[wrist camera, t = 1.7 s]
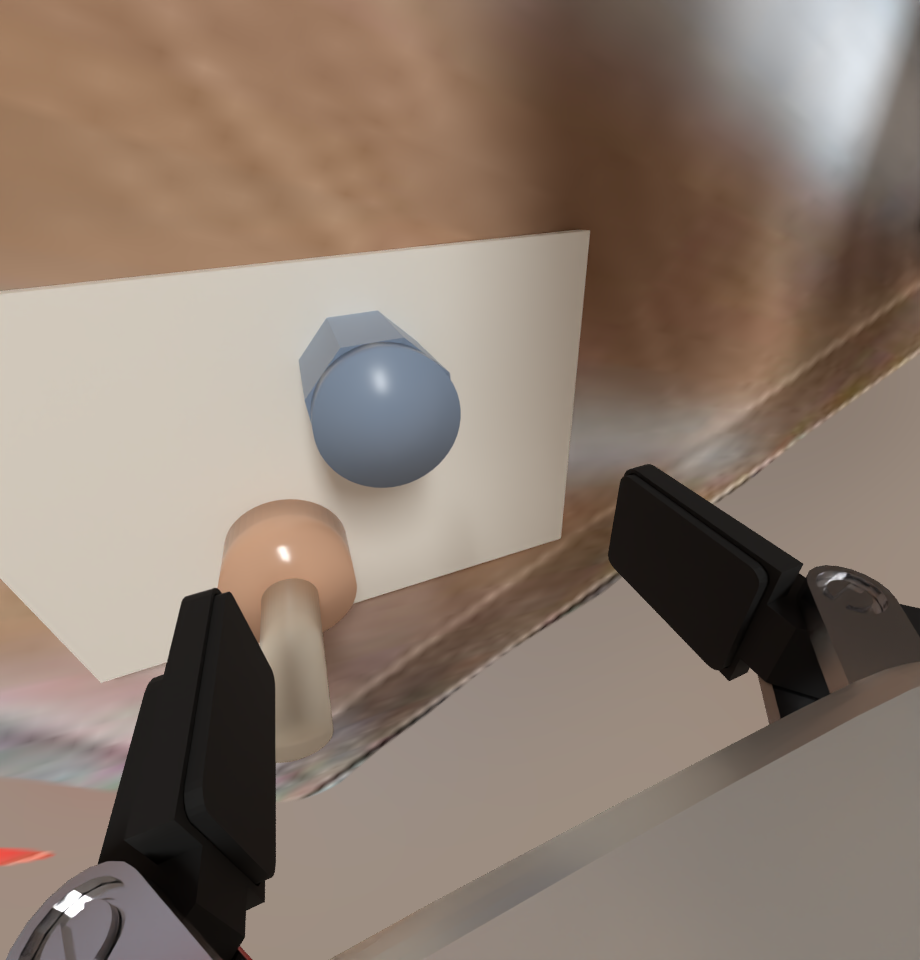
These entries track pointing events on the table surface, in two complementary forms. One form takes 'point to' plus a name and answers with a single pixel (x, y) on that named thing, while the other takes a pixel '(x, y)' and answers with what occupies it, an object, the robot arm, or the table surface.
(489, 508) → the board
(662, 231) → the table surface
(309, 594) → the round stamp handle
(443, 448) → the cap
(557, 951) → the robot arm
